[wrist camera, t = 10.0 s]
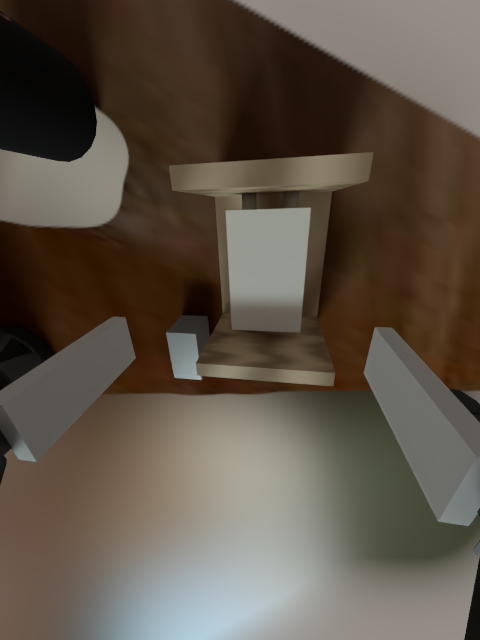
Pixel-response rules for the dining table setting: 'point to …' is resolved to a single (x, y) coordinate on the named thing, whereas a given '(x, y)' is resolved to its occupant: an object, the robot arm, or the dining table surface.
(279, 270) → the white flat block
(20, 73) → the coffee jar
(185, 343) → the block
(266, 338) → the shelf bay
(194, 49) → the dining table surface
